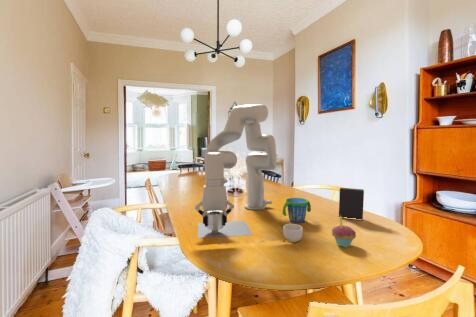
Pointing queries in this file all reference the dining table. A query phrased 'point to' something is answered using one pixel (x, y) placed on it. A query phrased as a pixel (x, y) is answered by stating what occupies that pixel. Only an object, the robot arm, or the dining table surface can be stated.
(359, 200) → the black upright rectangular panel
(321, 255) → the dining table surface
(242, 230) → the stand
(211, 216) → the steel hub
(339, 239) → the cupcake
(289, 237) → the teacup
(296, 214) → the snack cup
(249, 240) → the dining table surface
